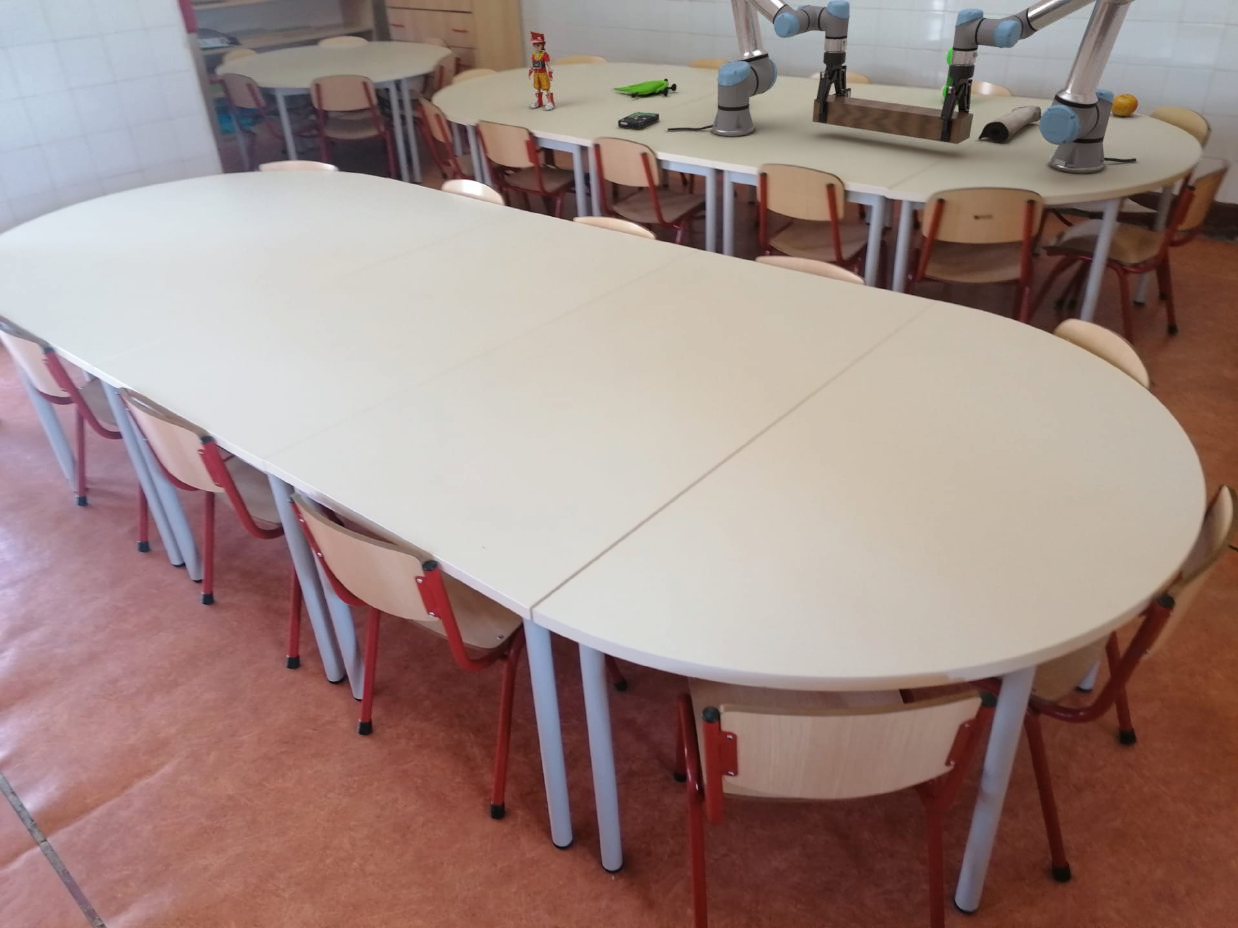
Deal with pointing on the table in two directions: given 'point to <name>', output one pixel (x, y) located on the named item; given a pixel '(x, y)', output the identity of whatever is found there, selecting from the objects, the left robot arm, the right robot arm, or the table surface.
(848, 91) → the midi keyboard
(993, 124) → the rolled mat
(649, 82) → the toy
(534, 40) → the toy
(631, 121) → the disk drive
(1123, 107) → the fruit
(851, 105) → the thick board
